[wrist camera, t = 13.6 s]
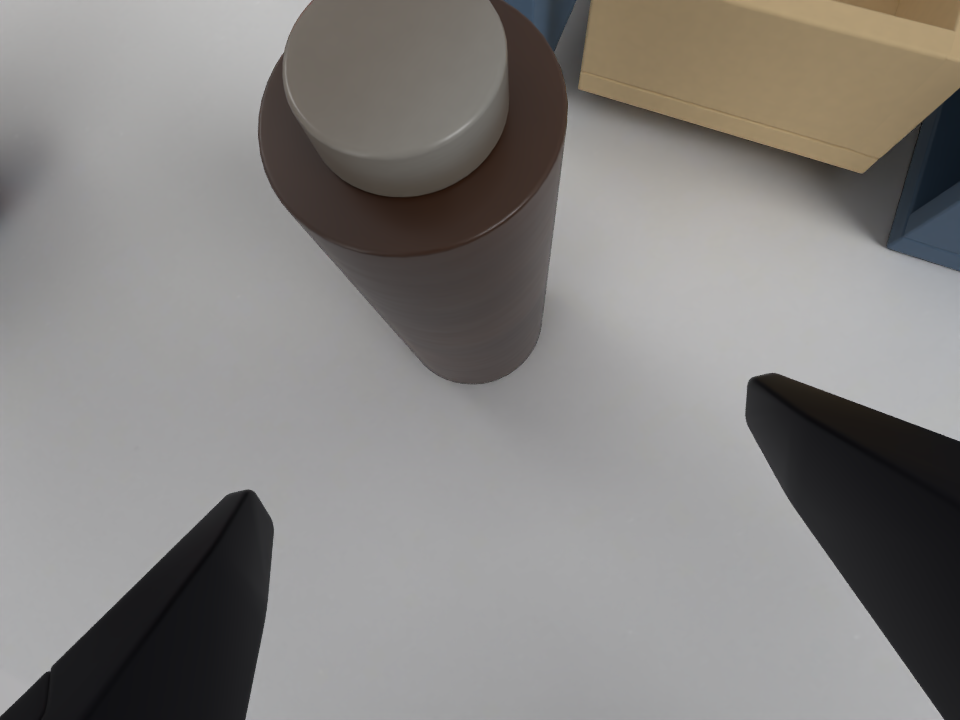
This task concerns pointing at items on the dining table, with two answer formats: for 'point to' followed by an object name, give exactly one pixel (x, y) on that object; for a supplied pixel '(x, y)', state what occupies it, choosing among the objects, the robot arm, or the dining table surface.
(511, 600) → the dining table surface
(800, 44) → the drawer
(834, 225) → the dining table surface
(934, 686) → the robot arm
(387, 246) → the pepper mill
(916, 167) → the cabinet
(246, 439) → the dining table surface
